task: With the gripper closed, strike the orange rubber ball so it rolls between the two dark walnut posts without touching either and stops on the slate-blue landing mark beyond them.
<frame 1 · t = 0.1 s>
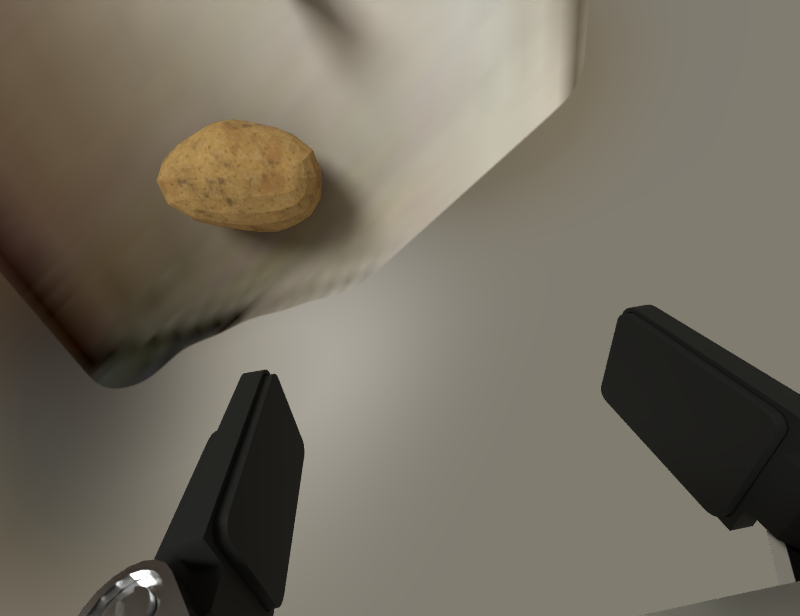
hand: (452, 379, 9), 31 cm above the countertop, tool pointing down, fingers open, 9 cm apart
potato: (257, 174, 34), on the countertop
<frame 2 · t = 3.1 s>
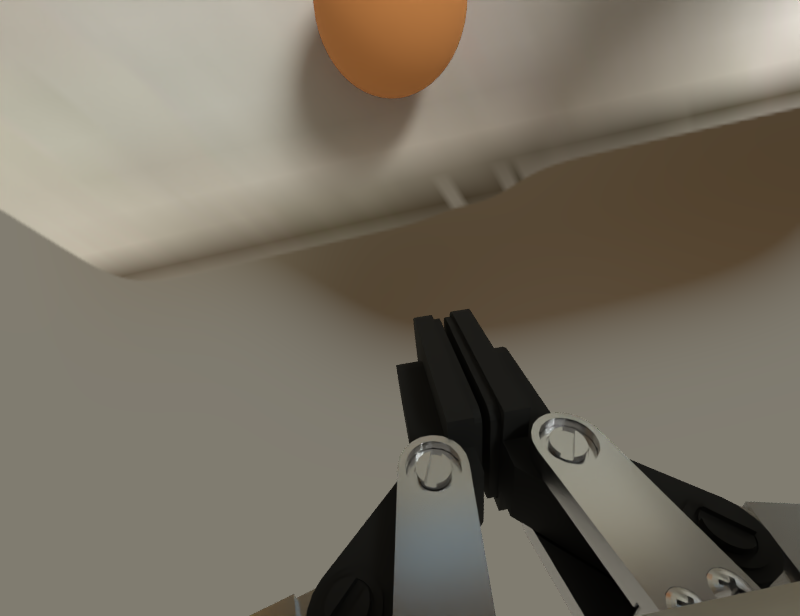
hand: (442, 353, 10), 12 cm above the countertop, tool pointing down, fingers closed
ball: (390, 9, 13), on the countertop
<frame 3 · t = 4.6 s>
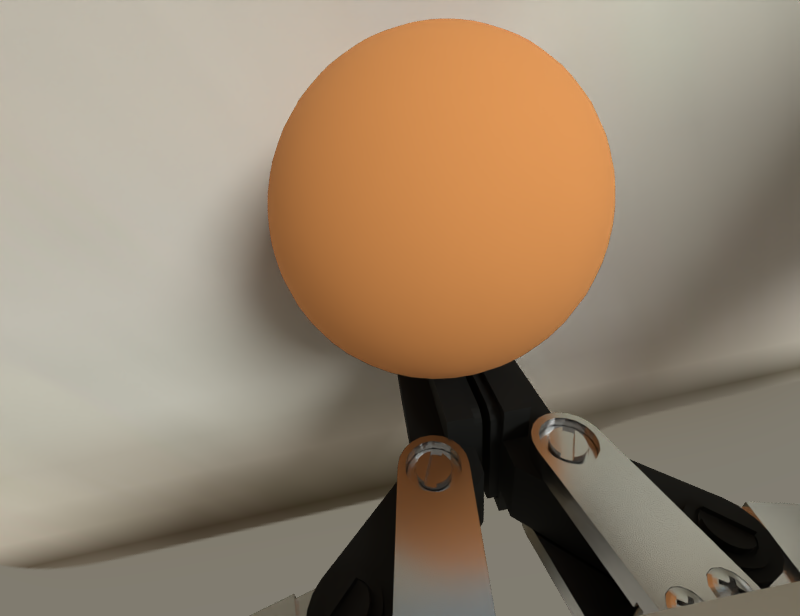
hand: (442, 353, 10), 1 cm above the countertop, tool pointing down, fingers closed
ball: (432, 221, 7), on the countertop
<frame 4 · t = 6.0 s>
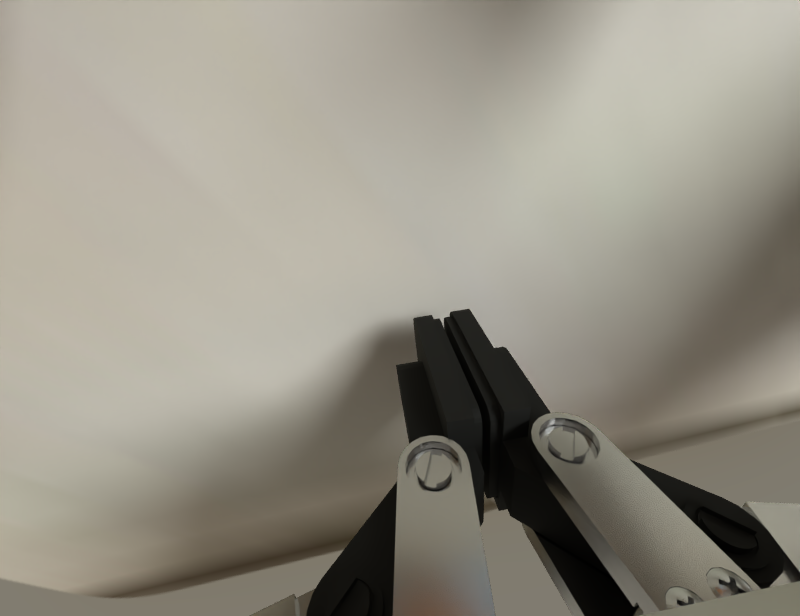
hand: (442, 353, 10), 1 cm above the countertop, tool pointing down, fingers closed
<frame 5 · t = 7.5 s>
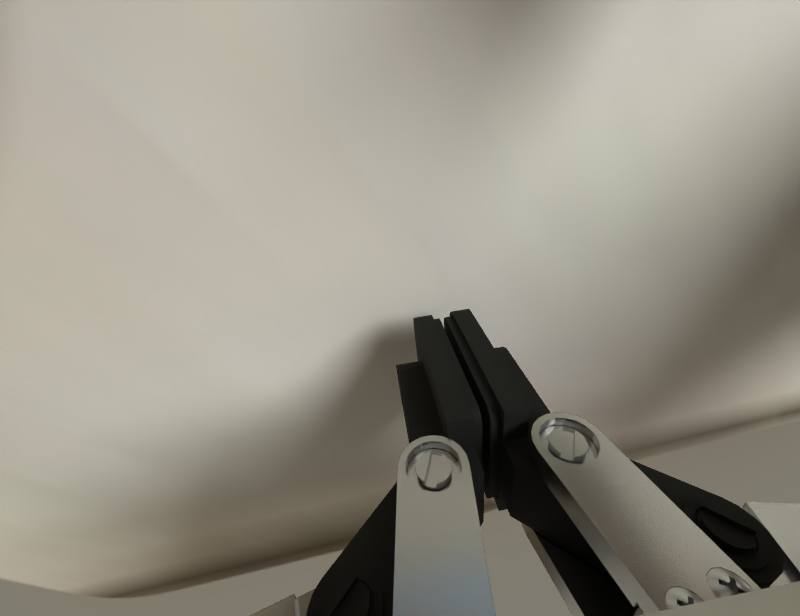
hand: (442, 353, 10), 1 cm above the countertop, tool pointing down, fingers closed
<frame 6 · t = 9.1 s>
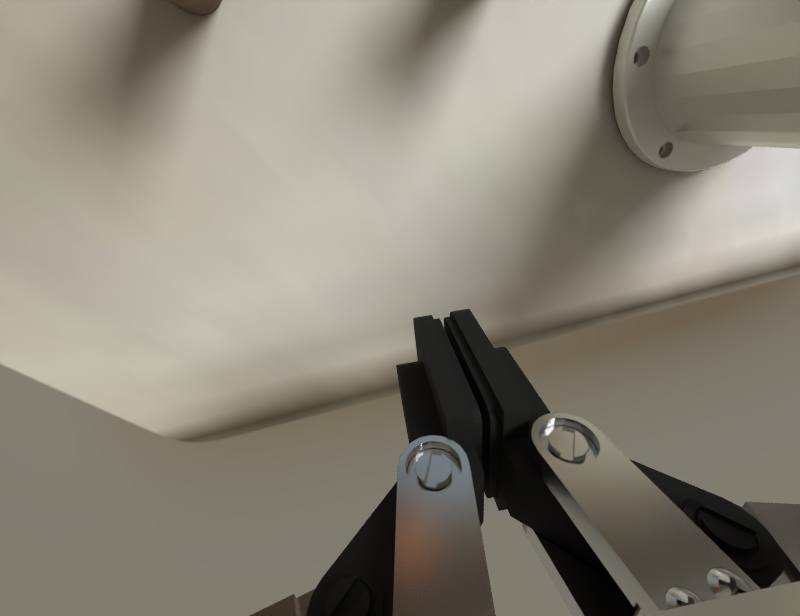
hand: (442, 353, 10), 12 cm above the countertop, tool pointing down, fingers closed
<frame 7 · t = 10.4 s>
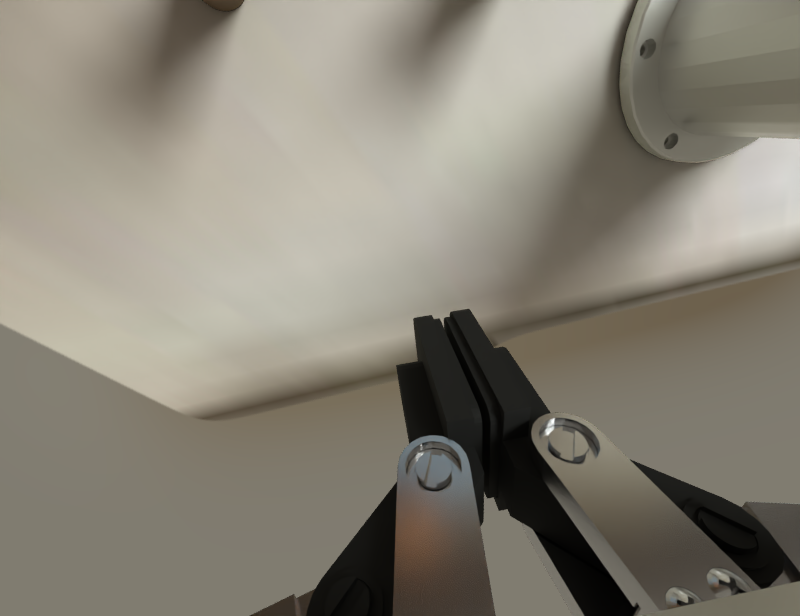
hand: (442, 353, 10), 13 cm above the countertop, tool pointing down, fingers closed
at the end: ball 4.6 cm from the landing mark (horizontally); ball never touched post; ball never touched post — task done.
